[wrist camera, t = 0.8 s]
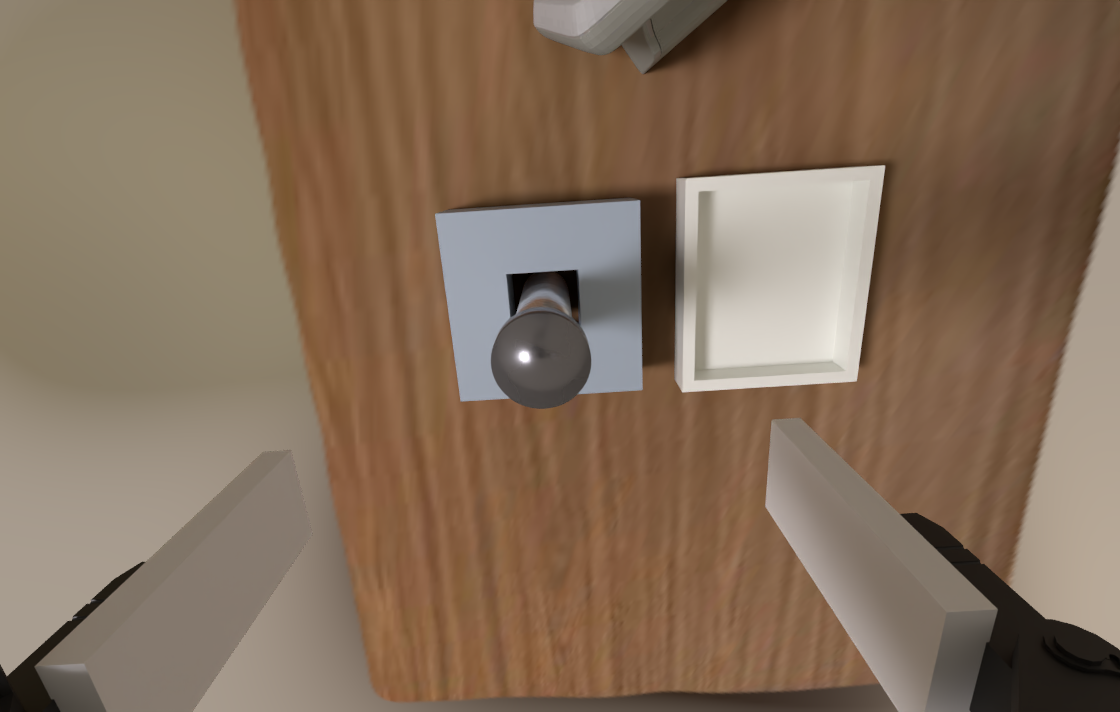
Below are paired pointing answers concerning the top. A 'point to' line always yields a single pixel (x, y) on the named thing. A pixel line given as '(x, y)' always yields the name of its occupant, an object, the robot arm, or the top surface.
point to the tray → (773, 276)
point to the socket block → (540, 246)
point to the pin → (542, 347)
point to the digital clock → (622, 25)
